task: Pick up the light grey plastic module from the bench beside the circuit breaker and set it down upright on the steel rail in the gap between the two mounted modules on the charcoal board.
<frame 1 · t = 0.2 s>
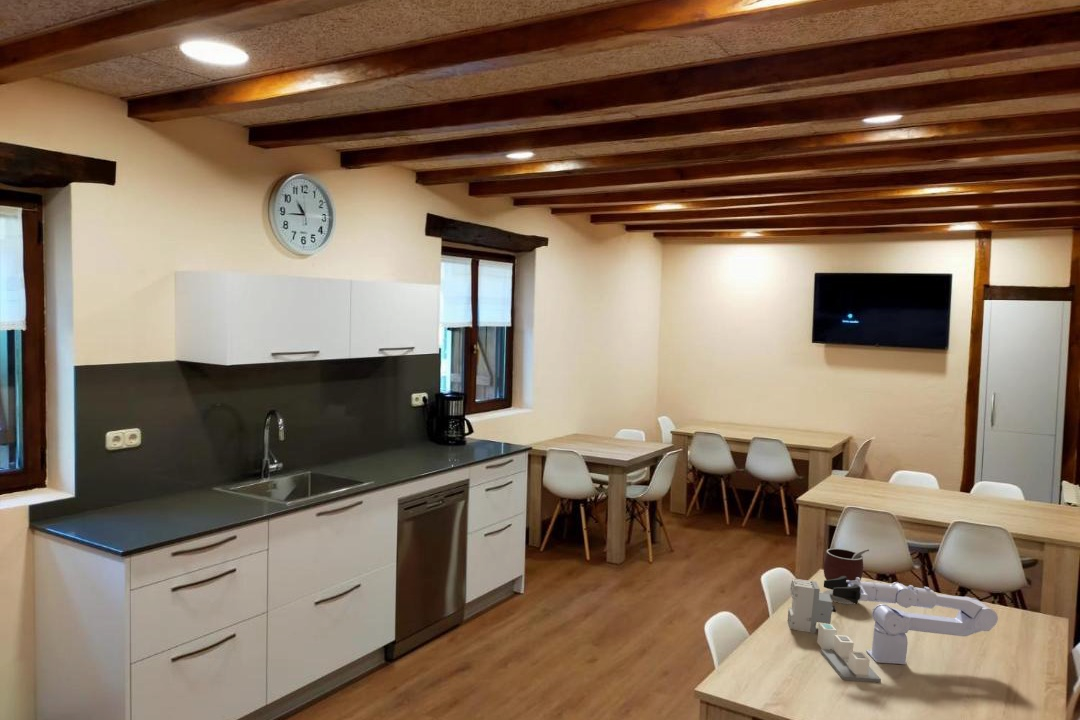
hand: (828, 587, 242), 21 cm above the table, tool horizontal, fingers open, 7 cm apart
mate gourd: (842, 598, 294), on the table
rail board: (849, 666, 235), on the table
module: (825, 646, 249), on the table
circuit breaker: (810, 628, 263), on the table
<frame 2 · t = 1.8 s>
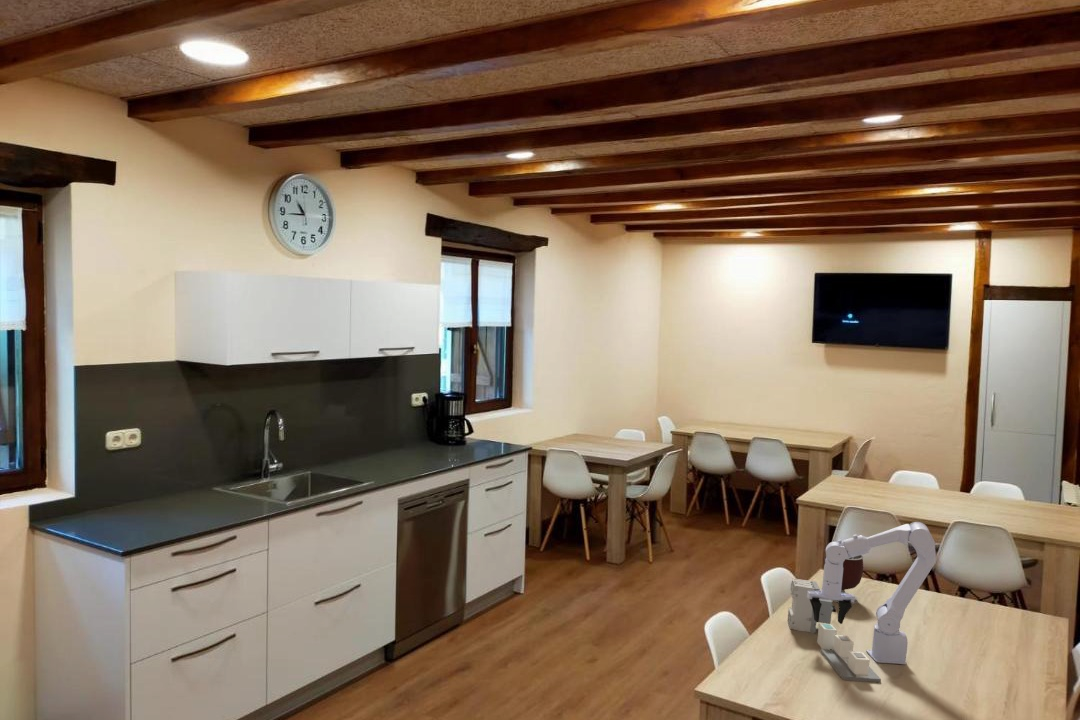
hand: (828, 621, 249), 8 cm above the table, tool pointing down, fingers open, 7 cm apart
nothing on the table moved.
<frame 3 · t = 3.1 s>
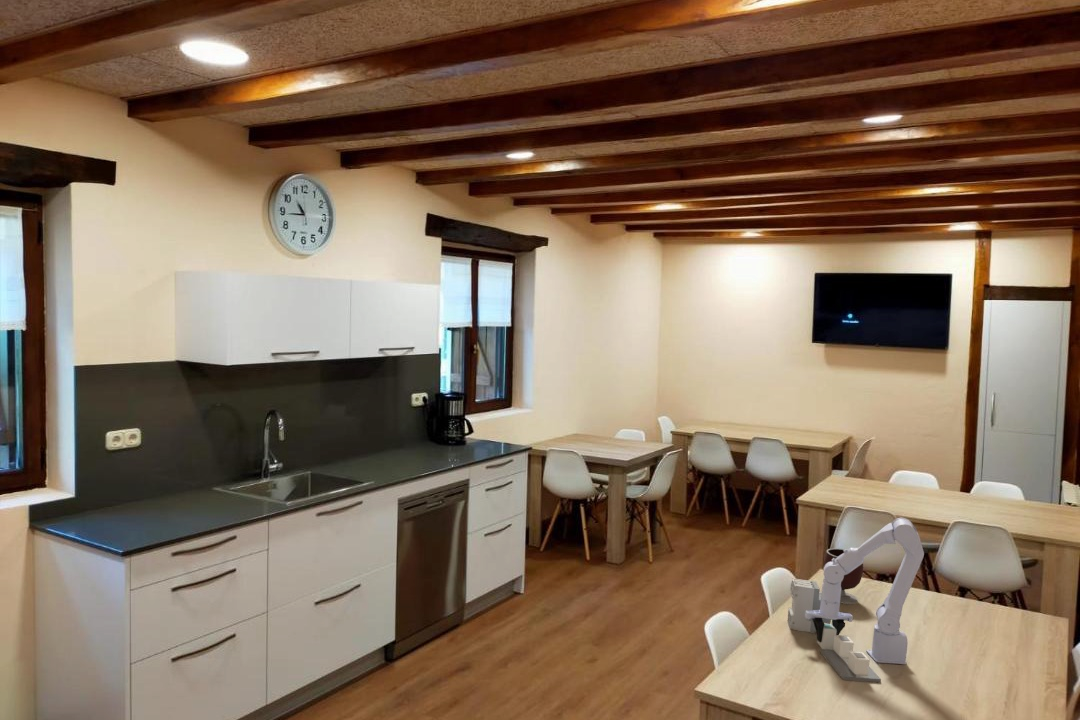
hand: (826, 641, 249), 2 cm above the table, tool pointing down, fingers closed on module, 4 cm apart
module: (825, 646, 249), on the table, touching gripper
everything else where it was.
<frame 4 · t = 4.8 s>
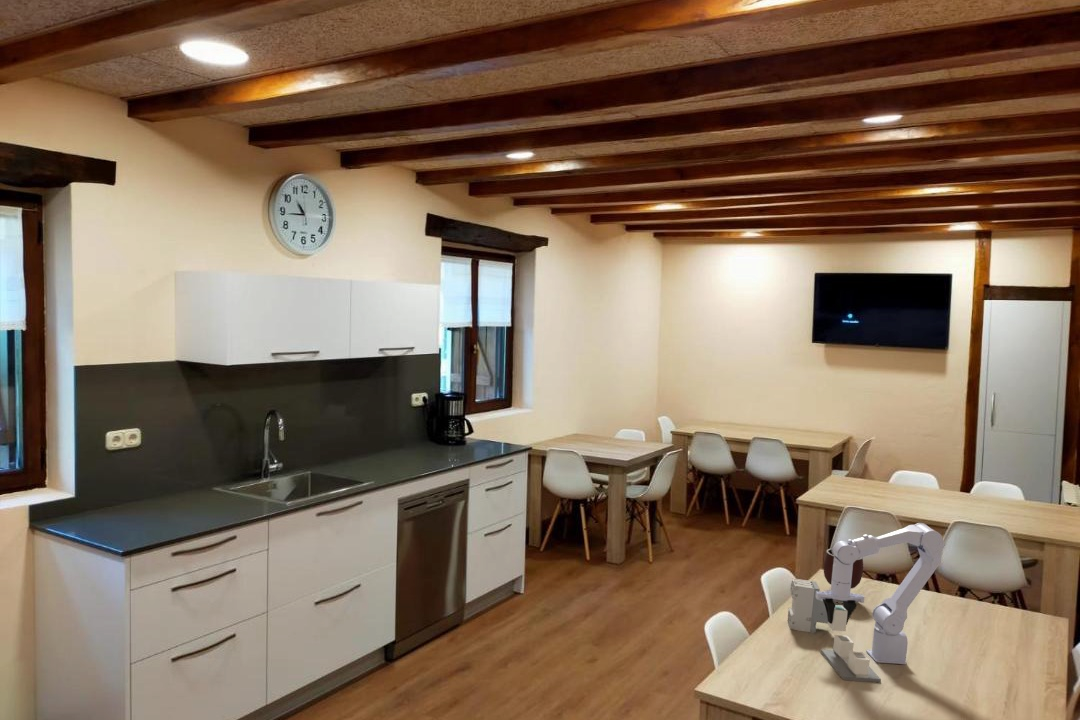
hand: (837, 622, 243), 10 cm above the table, tool pointing down, fingers closed on module, 4 cm apart
module: (836, 627, 244), point 8 cm above the table, touching gripper
everything else where it was.
when the fingers open (5 cm above the table, at t = 6.7 s): module drops 1 cm, resting on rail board.
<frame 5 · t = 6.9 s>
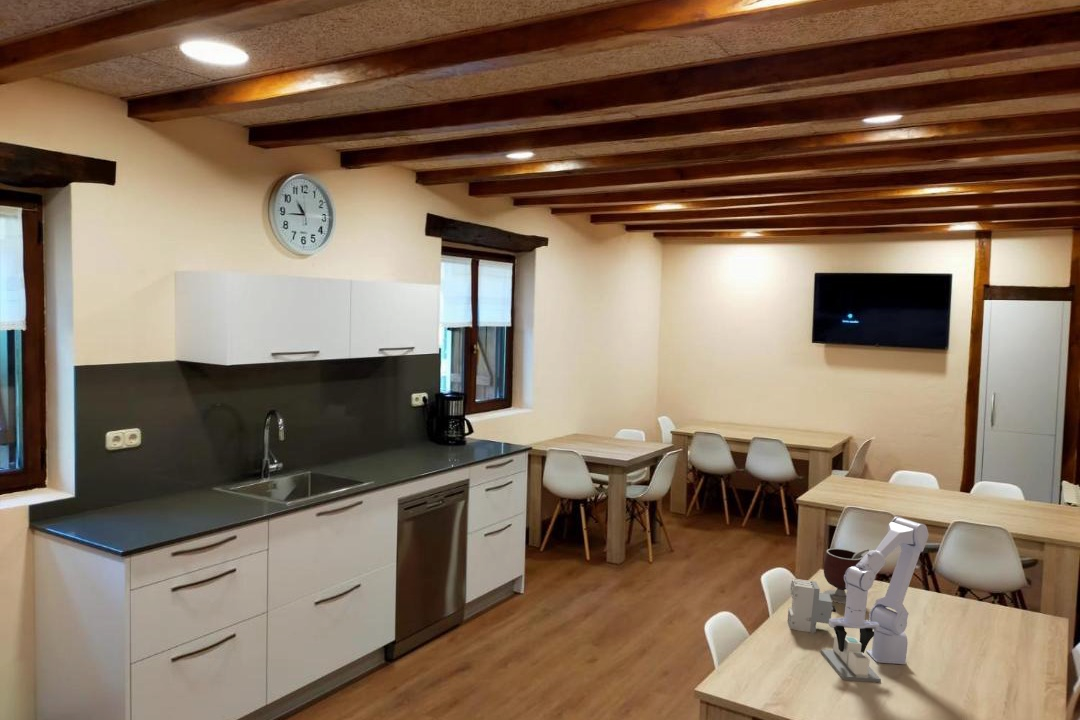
hand: (851, 651, 235), 5 cm above the table, tool pointing down, fingers open, 6 cm apart
module: (849, 660, 235), point 2 cm above the table, touching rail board
everything else where it was.
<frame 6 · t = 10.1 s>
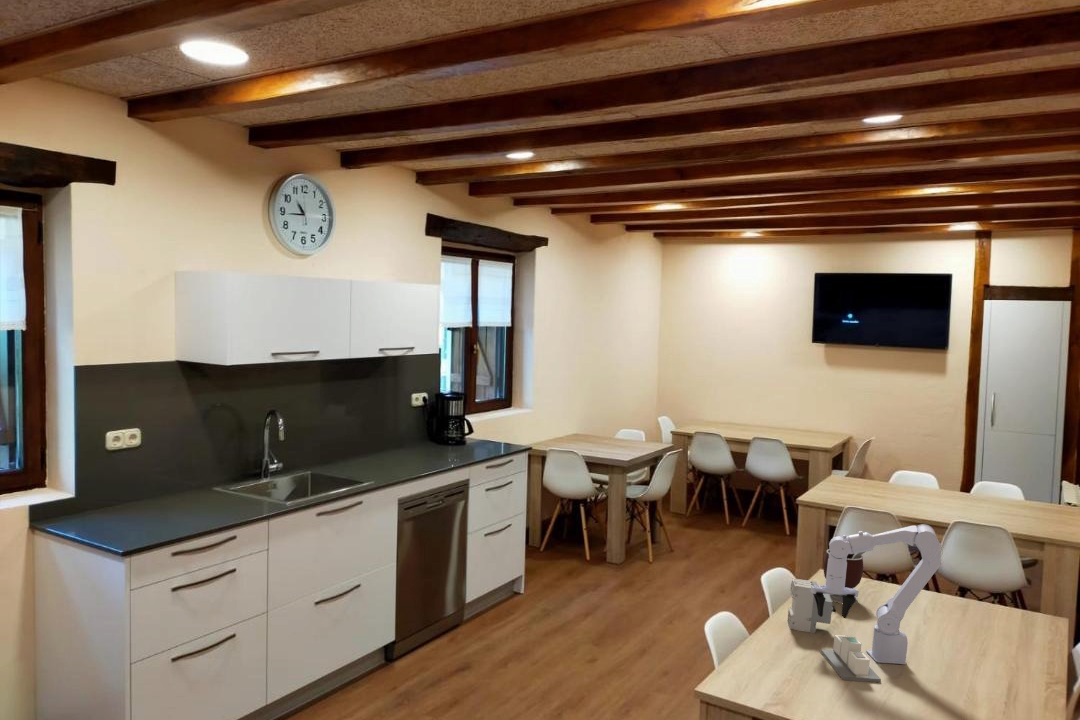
hand: (831, 616, 248), 10 cm above the table, tool pointing down, fingers open, 7 cm apart
nothing on the table moved.
at the end: module 0.3 cm off-centre on the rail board, point 1.7 cm above the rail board's base; module tilted 0°; the gripper is holding nothing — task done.
